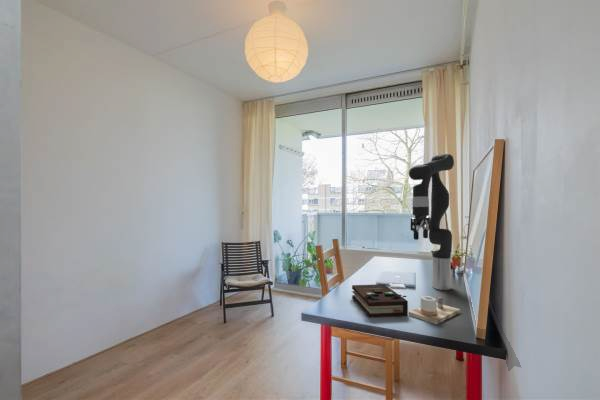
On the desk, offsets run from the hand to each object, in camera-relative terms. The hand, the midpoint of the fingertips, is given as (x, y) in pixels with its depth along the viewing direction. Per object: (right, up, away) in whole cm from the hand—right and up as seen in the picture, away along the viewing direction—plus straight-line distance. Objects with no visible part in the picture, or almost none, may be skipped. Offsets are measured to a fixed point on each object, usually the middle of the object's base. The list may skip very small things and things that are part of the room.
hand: (420, 238), depth 142 cm
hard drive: (-4, -31, +25) cm, 40 cm away
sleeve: (-6, -28, -21) cm, 36 cm away
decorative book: (-24, -31, -8) cm, 40 cm away
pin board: (-2, -30, -18) cm, 35 cm away
